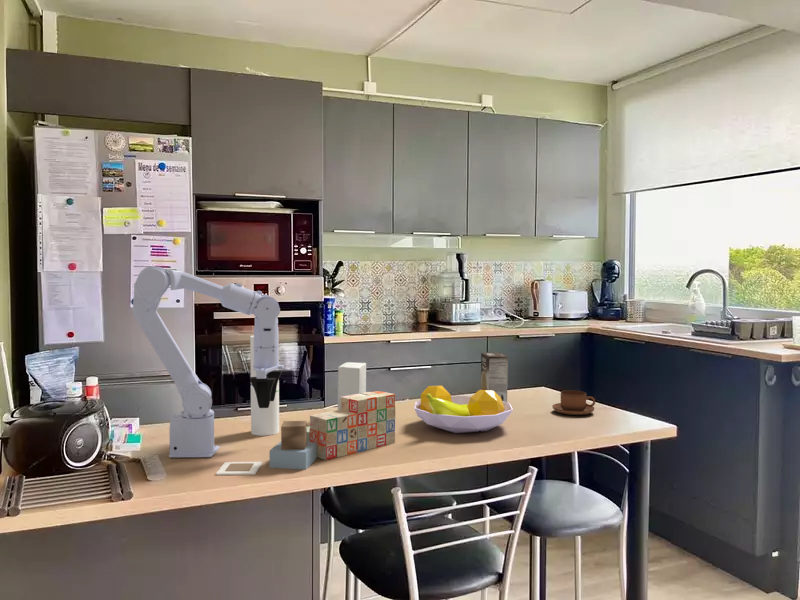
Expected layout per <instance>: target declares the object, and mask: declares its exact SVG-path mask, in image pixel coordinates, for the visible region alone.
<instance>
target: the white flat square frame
mask: <svg viewBox="0 0 800 600" xmlns="http://www.w3.org/2000/svg"><path fill="white" fill-rule="evenodd" d="M262 464H263V462H262V461H224V462H223V464H222V465H221V466H220V468H219V469H218V470H217V472H216V473H215V475H216V476H230V475H231V476H235V475H236V476H237V475H239V476H250V475H252V476H255V475H256V474H257V472H258V471H259V469H260V467H261V465H262Z"/></svg>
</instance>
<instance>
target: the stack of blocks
mask: <svg viewBox="0 0 800 600" xmlns="http://www.w3.org/2000/svg"><path fill="white" fill-rule="evenodd" d="M309 427H310V442H316V458H319V459H322V460H325V461H328V460H332V459H335V458H340V457H341V458H342V457H343V456H345V457H346V456H348V455H353V454H357V453H361V452H364V451H369V450H372V449H375V448H381V447H384V446H390V445H391V444H392V443H393V444H395V443H396V393H392V392H391V393H390V392H386V391H380V390H377V391H366V392H364V393H360V394H354V395H349V396H343V397H341V404H340V410H338V409H337V410H332V411H325V412H320V413H315V414H310V415H309Z"/></svg>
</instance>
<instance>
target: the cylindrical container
mask: <svg viewBox="0 0 800 600" xmlns="http://www.w3.org/2000/svg"><path fill="white" fill-rule="evenodd" d="M249 341H250V342H249V344H250V350H249V352H250V353H249V354H250V378H251V377H256V371H255V370H254V369H253V366H254V334H253V335H250V338H249ZM277 370H280V369H277ZM279 433H280V379H279V380H278V383H277V388H276V394H275V399H274V401H270V404H269V407H268V408H259V405H258V401H257V397H256V393H255V390H254V387H253V385H252V384H251V383H250V434H251V435H253V436H257V437H258V436H259V437H260V436H261V437H262V436H263V437H264V436H273V435H277V434H279Z"/></svg>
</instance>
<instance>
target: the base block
mask: <svg viewBox="0 0 800 600" xmlns="http://www.w3.org/2000/svg"><path fill="white" fill-rule="evenodd" d="M316 460H317V457H316V442H307V443H306V447H305V449H298V450H281V441H280V442H278V443H277V444H276V445H274V446H273V447H272V448H270V449H269V468H271V469H287V470H307V469H308V468H309V467H310V466H312V464H313V463H314V462H315V461H316Z"/></svg>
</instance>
